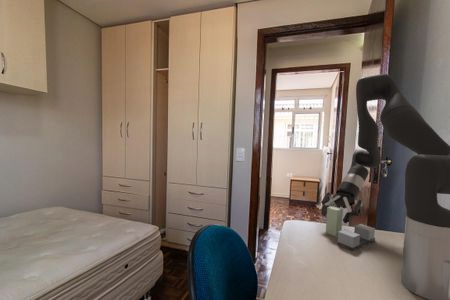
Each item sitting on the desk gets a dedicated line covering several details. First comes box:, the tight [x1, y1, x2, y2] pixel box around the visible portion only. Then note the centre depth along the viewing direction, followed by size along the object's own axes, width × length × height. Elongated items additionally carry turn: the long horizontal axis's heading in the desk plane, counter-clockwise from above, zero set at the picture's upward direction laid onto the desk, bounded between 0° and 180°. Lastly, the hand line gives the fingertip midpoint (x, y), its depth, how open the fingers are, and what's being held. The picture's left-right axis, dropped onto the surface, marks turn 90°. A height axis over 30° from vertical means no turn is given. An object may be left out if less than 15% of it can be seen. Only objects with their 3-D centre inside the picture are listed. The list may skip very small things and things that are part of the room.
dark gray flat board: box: [336, 237, 376, 252], centre depth 78 cm, size 6×16×1 cm, turn 124°
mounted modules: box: [337, 223, 376, 248], centre depth 78 cm, size 5×16×4 cm, turn 124°
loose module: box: [325, 206, 344, 238], centre depth 85 cm, size 4×4×10 cm
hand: (333, 218), depth 85 cm, fingers open, 8 cm apart
